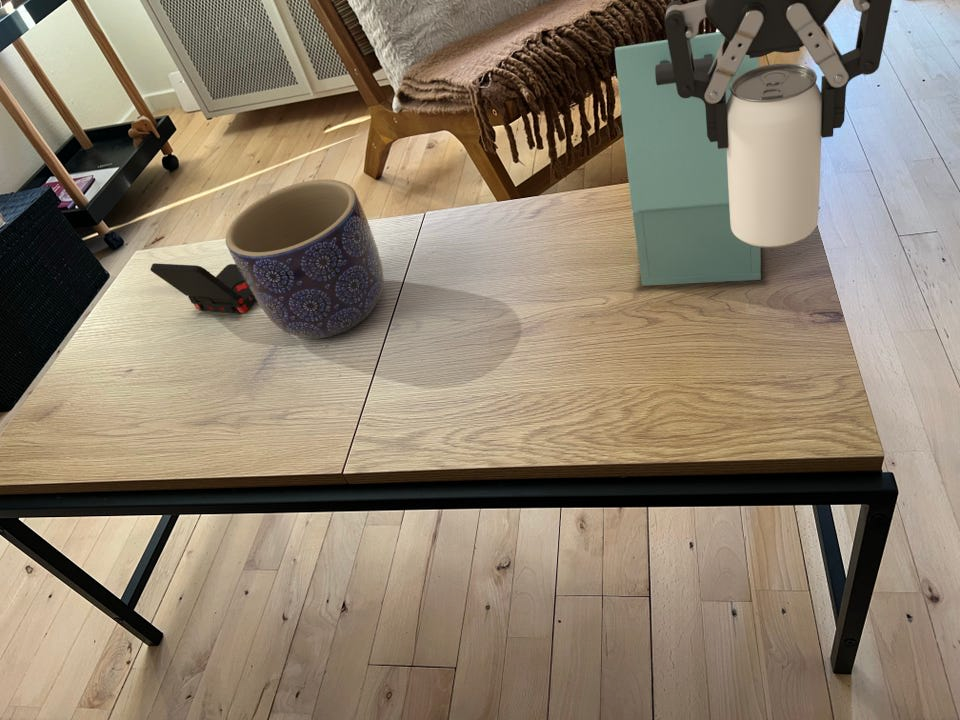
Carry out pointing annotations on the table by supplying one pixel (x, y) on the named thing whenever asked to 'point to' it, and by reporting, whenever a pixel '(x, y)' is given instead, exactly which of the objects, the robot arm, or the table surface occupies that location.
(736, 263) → the teal open box
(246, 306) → the black phone stand
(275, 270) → the planter
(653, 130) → the lid
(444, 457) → the table surface
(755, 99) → the can
